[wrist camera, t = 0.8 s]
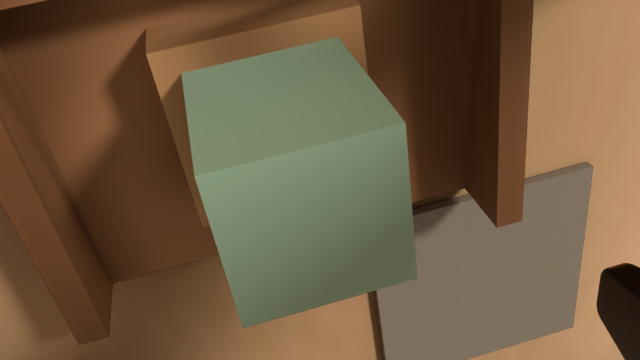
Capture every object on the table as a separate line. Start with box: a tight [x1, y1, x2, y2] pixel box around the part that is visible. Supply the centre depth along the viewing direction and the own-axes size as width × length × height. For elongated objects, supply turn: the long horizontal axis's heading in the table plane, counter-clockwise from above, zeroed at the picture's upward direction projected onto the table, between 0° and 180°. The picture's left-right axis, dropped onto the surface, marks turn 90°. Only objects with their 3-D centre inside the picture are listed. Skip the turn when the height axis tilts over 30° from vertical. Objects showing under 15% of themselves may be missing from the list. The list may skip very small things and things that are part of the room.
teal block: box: [181, 37, 418, 328], centre depth 16 cm, size 4×4×6 cm
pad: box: [375, 162, 593, 360], centre depth 28 cm, size 10×10×1 cm
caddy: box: [0, 0, 534, 345], centre depth 19 cm, size 16×12×4 cm
